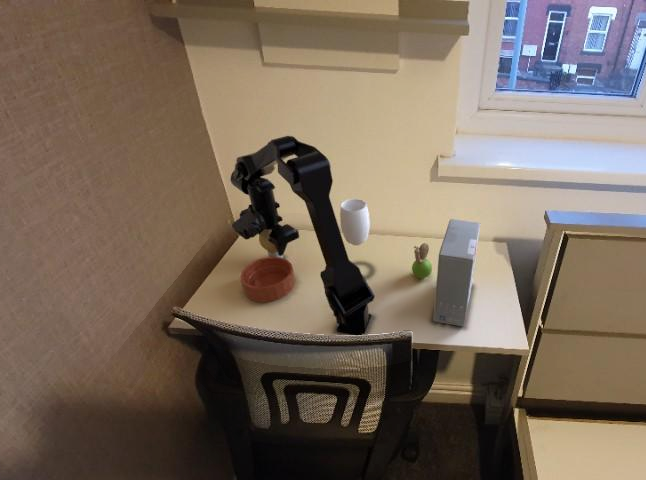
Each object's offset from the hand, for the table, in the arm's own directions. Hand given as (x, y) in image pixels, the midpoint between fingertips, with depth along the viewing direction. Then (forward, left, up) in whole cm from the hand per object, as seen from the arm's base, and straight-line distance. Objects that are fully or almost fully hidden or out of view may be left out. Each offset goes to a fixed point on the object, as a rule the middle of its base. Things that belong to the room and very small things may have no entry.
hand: (274, 250), depth 109 cm
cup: (-24, 0, -3) cm, 24 cm away
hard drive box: (-51, +7, -3) cm, 52 cm away
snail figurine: (-41, -1, -3) cm, 41 cm away
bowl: (-4, +11, -3) cm, 12 cm away
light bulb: (0, 0, -3) cm, 3 cm away
